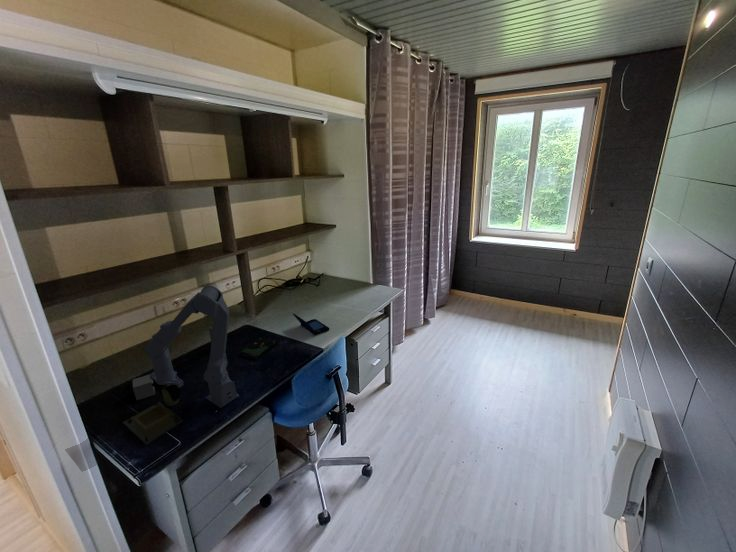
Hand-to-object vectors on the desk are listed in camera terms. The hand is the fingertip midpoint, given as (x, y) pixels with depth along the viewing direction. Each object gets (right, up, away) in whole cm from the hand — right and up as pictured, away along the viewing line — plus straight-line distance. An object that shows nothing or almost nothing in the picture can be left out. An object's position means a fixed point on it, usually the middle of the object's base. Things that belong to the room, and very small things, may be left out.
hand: (171, 398), depth 124 cm
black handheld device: (+44, +17, +53) cm, 71 cm away
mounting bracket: (-1, -5, -9) cm, 10 cm away
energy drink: (+2, +11, +36) cm, 37 cm away
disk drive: (+22, +10, +34) cm, 42 cm away
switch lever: (0, -2, +1) cm, 2 cm away
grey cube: (-13, 0, +6) cm, 14 cm away
